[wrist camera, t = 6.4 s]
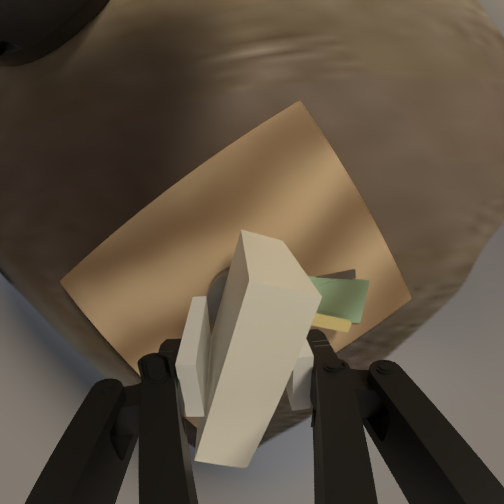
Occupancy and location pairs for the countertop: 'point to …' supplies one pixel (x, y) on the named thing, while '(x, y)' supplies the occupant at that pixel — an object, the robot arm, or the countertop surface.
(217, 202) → the light wood flat board
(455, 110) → the countertop surface
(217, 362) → the cream piece
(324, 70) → the countertop surface
